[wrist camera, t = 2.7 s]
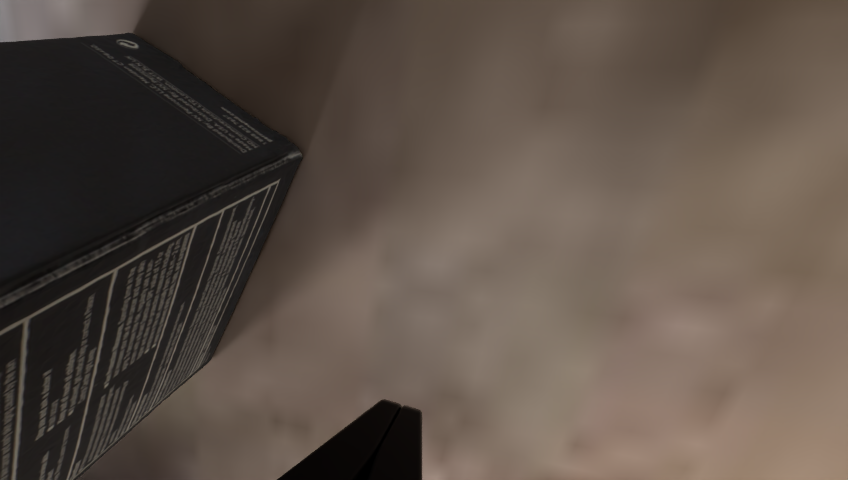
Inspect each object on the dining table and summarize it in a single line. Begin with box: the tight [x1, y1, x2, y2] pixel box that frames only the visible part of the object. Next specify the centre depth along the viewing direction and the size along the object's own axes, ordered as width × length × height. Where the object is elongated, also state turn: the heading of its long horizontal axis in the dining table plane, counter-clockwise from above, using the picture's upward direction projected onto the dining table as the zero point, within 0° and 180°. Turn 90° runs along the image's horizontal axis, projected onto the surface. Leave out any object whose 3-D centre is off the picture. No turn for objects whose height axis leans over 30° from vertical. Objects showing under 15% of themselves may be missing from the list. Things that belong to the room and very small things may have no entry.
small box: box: [0, 33, 302, 480], centre depth 12 cm, size 11×6×10 cm, turn 150°
